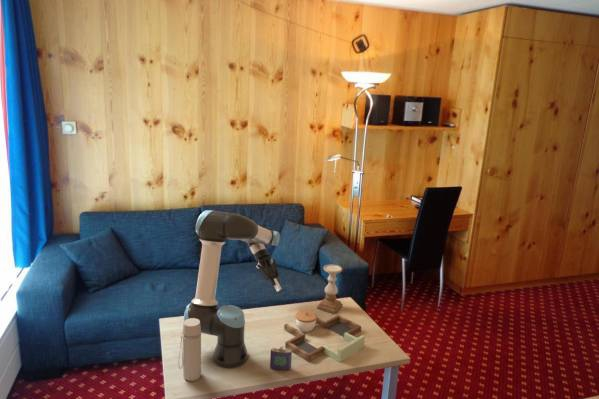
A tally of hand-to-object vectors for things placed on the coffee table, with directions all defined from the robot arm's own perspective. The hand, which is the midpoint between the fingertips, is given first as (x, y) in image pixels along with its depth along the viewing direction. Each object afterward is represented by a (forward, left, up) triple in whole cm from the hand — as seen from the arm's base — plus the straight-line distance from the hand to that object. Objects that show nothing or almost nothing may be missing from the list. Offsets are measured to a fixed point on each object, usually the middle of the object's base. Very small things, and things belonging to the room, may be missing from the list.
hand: (279, 290), depth 237 cm
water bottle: (-48, -45, -14) cm, 67 cm away
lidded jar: (+10, -18, -14) cm, 25 cm away
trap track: (+16, -28, -14) cm, 35 cm away
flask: (-10, -47, -14) cm, 50 cm away
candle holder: (+30, +1, -14) cm, 33 cm away
